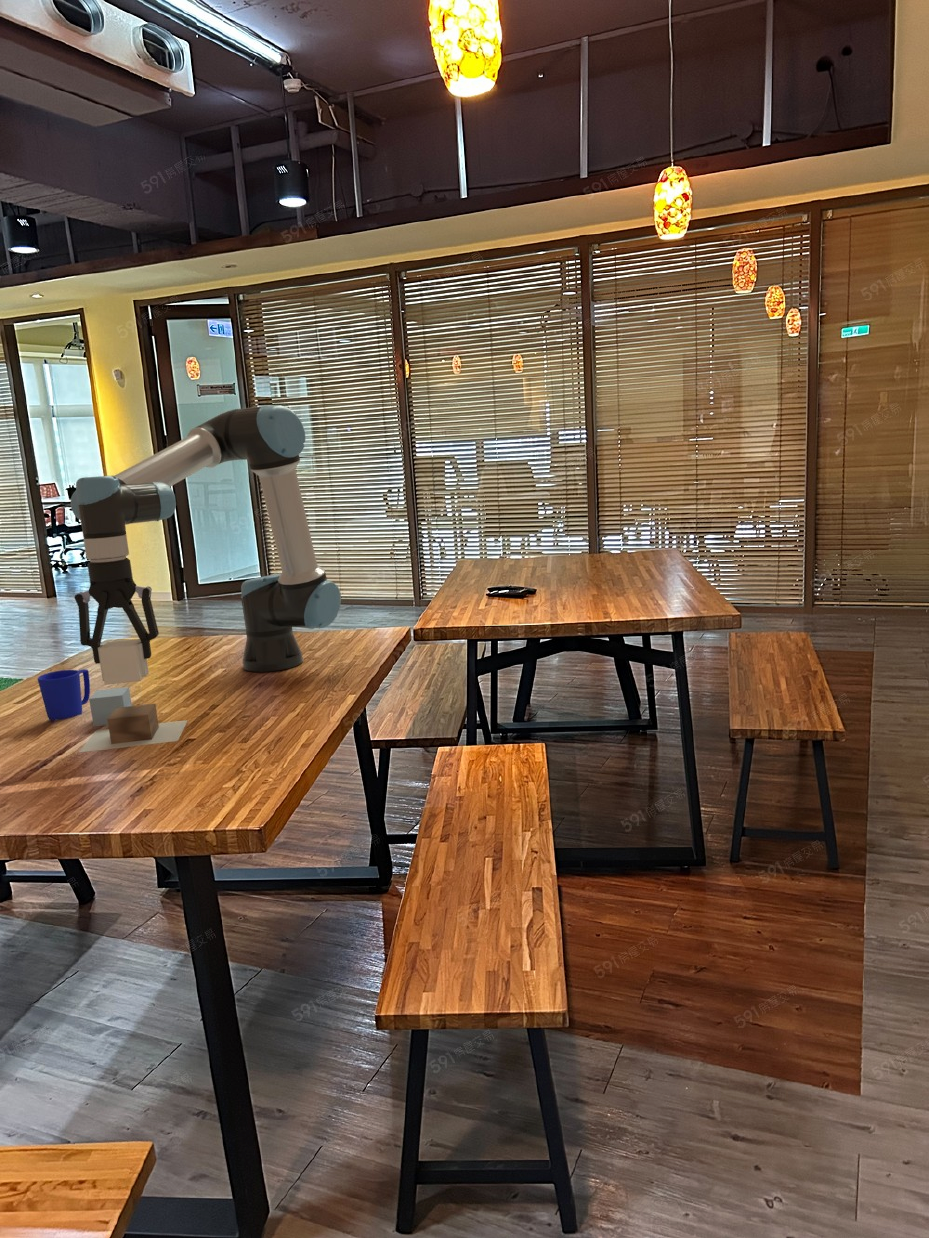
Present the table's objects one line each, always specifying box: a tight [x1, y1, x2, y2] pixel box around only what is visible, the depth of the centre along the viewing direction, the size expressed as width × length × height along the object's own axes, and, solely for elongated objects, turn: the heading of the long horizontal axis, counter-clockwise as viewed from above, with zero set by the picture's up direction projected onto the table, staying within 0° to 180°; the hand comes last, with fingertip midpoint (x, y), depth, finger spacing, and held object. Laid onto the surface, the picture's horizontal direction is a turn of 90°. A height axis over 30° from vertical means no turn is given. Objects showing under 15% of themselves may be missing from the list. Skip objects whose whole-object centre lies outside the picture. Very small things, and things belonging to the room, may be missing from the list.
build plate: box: [78, 719, 189, 753], centre depth 168 cm, size 18×13×1 cm
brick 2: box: [88, 686, 133, 727], centre depth 179 cm, size 6×6×7 cm
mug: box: [37, 669, 91, 723], centre depth 187 cm, size 8×12×10 cm
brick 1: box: [99, 638, 144, 686], centre depth 165 cm, size 6×6×7 cm
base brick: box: [107, 703, 159, 744], centre depth 167 cm, size 8×8×5 cm
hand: (126, 676), depth 165 cm, fingers closed on brick 1, 6 cm apart
